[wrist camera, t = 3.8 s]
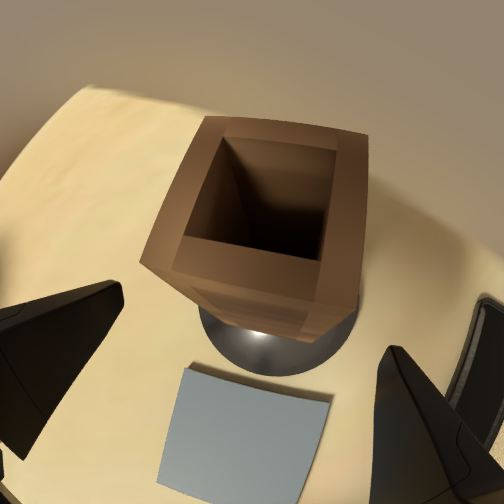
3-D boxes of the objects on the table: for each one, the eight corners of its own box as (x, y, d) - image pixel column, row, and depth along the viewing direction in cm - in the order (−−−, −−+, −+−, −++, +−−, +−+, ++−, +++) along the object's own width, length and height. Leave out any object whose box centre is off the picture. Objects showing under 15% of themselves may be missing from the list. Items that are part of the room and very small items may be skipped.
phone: (408, 473, 13) (482, 292, 17) (402, 468, 14) (475, 296, 18) (470, 485, 10) (532, 325, 14) (464, 481, 11) (524, 327, 15)
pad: (288, 517, 13) (288, 520, 12) (159, 479, 15) (156, 482, 14) (328, 402, 16) (330, 403, 16) (187, 367, 18) (184, 367, 18)
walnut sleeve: (310, 343, 17) (355, 309, 6) (227, 324, 18) (139, 262, 7) (326, 262, 19) (368, 135, 8) (248, 247, 20) (205, 116, 9)
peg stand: (338, 388, 17) (352, 395, 13) (184, 352, 19) (161, 348, 15) (364, 240, 20) (378, 215, 17) (225, 215, 22) (214, 187, 19)
